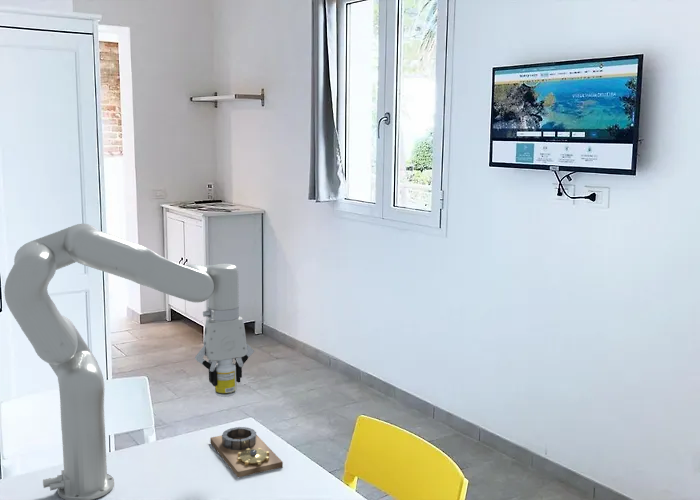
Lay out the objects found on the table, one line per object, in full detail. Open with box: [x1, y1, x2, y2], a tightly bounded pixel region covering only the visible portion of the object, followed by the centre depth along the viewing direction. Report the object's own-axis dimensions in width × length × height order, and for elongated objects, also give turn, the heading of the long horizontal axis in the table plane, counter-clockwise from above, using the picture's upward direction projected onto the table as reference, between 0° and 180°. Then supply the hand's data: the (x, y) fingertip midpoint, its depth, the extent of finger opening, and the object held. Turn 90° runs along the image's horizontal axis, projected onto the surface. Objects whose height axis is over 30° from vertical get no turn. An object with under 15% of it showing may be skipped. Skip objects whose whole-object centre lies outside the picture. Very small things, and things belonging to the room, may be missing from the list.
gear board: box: [210, 434, 284, 478], centre depth 188 cm, size 12×22×2 cm, turn 29°
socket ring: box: [221, 426, 257, 450], centre depth 191 cm, size 9×9×2 cm
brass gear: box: [237, 448, 269, 466], centre depth 182 cm, size 8×8×2 cm
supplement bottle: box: [214, 359, 238, 398], centre depth 180 cm, size 5×5×10 cm
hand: (225, 382), depth 180 cm, fingers closed on supplement bottle, 5 cm apart
